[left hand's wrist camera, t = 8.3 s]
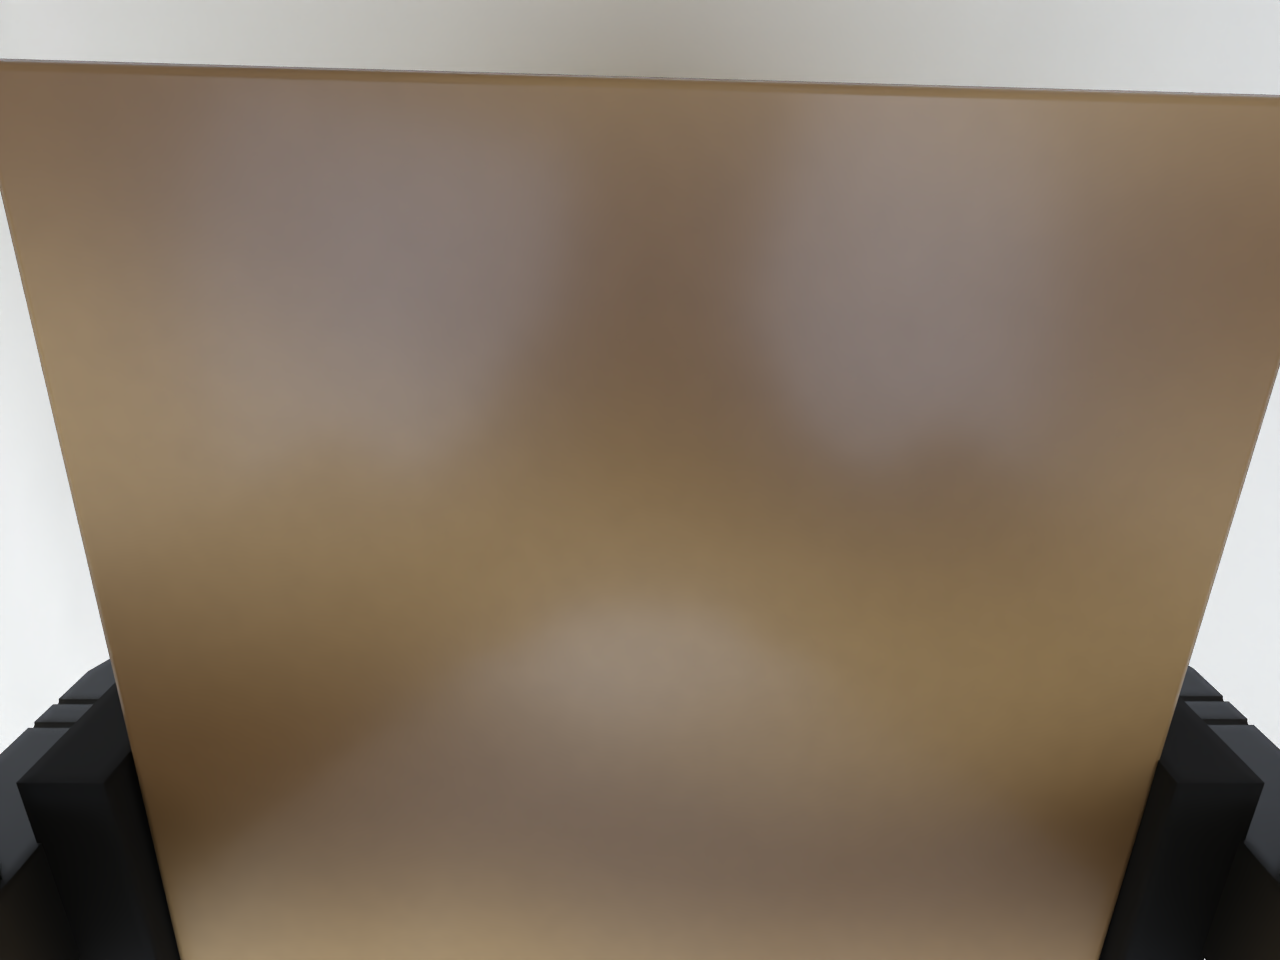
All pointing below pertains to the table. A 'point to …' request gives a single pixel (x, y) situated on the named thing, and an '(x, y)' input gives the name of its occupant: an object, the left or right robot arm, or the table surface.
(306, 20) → the table surface
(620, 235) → the long beam
